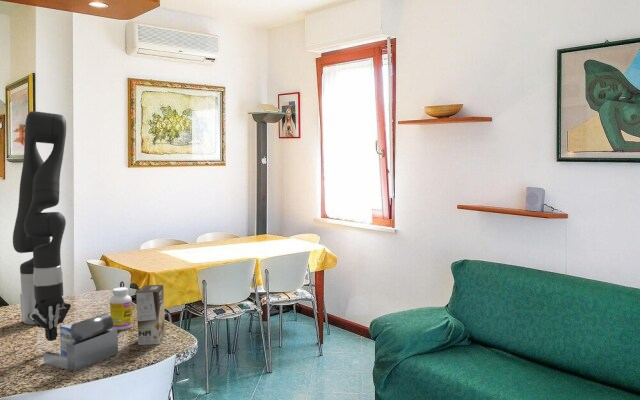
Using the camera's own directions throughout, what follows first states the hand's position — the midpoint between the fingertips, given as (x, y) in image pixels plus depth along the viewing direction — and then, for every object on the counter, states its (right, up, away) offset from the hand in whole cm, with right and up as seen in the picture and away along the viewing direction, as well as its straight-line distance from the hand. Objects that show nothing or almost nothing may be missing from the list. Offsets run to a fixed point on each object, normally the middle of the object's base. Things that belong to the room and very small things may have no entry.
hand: (51, 340), depth 161 cm
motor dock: (+12, -4, -6) cm, 14 cm away
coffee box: (+27, -2, +9) cm, 28 cm away
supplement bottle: (+13, -1, +21) cm, 25 cm away
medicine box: (+9, -4, -4) cm, 10 cm away
